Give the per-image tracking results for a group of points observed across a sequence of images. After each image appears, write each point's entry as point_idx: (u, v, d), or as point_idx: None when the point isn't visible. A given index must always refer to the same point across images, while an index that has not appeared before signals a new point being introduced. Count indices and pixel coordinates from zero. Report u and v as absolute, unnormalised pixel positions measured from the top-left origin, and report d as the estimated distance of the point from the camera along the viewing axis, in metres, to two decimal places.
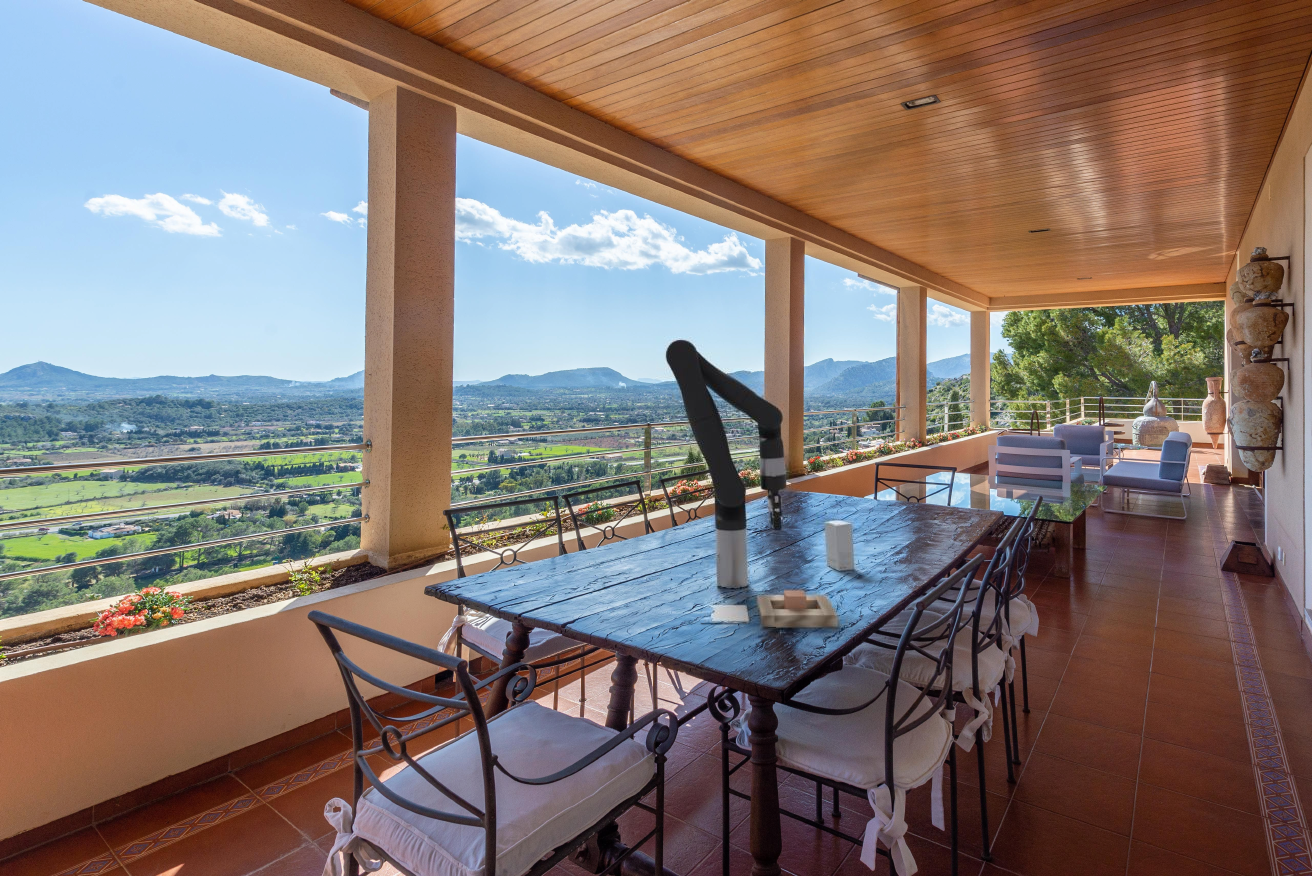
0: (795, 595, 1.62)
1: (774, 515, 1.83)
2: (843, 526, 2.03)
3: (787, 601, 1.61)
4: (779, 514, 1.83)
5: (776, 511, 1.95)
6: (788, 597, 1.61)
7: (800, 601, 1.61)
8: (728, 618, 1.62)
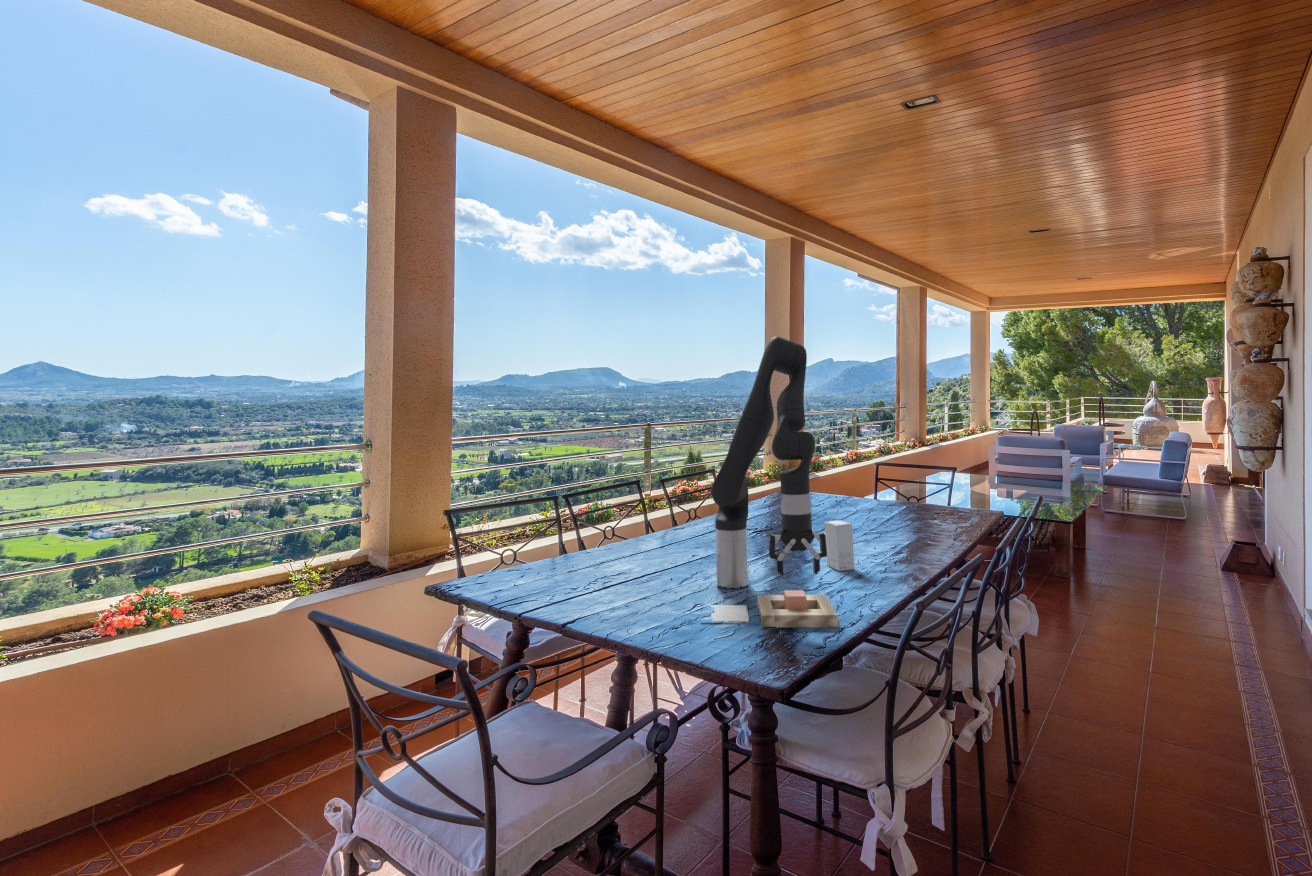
0: (795, 595, 1.62)
1: None
2: (843, 526, 2.03)
3: (787, 601, 1.61)
4: None
5: None
6: (788, 597, 1.61)
7: (800, 601, 1.61)
8: (728, 618, 1.62)
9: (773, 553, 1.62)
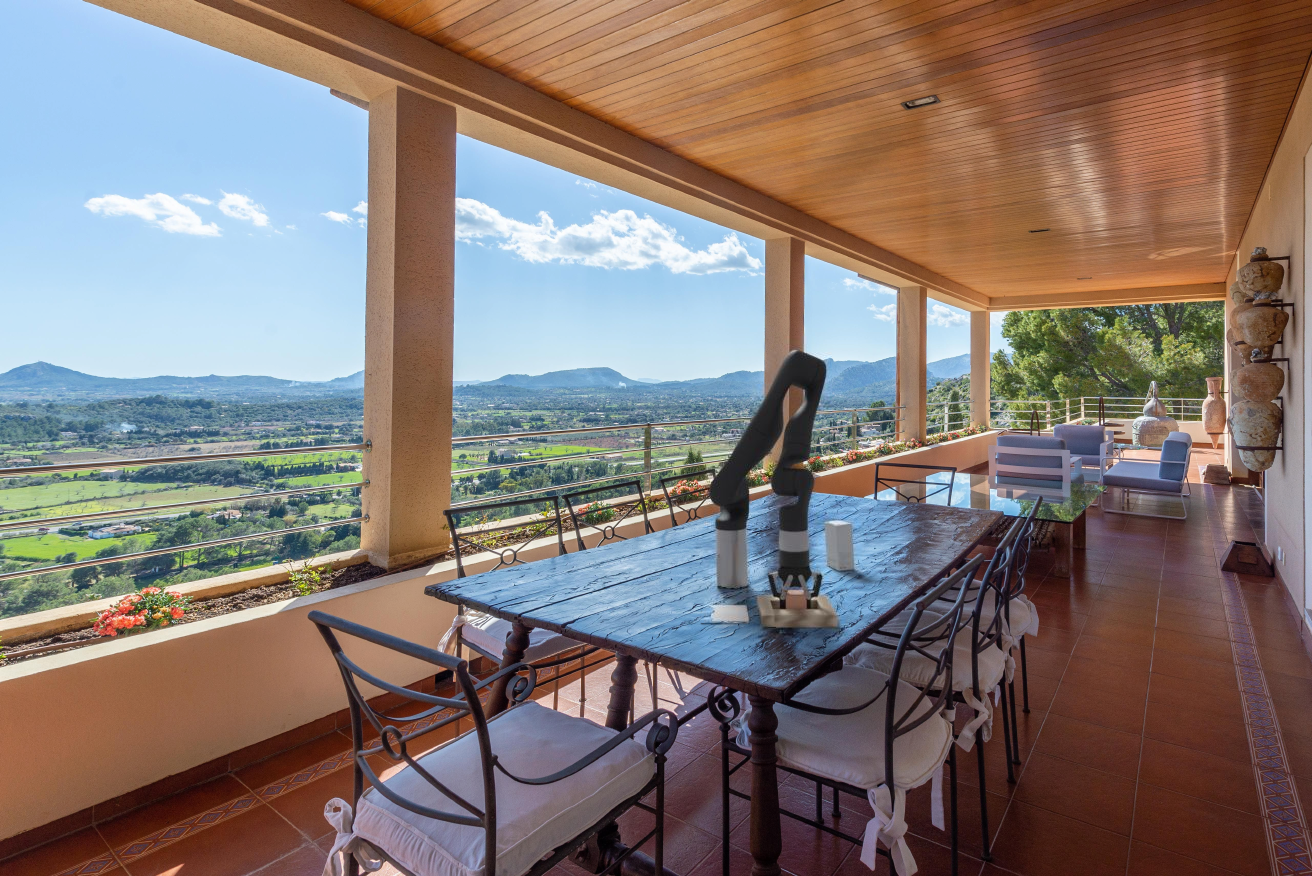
0: (795, 594, 1.62)
1: None
2: (843, 526, 2.03)
3: (787, 601, 1.61)
4: None
5: None
6: (788, 597, 1.61)
7: (800, 601, 1.61)
8: (728, 618, 1.62)
9: (776, 592, 1.62)
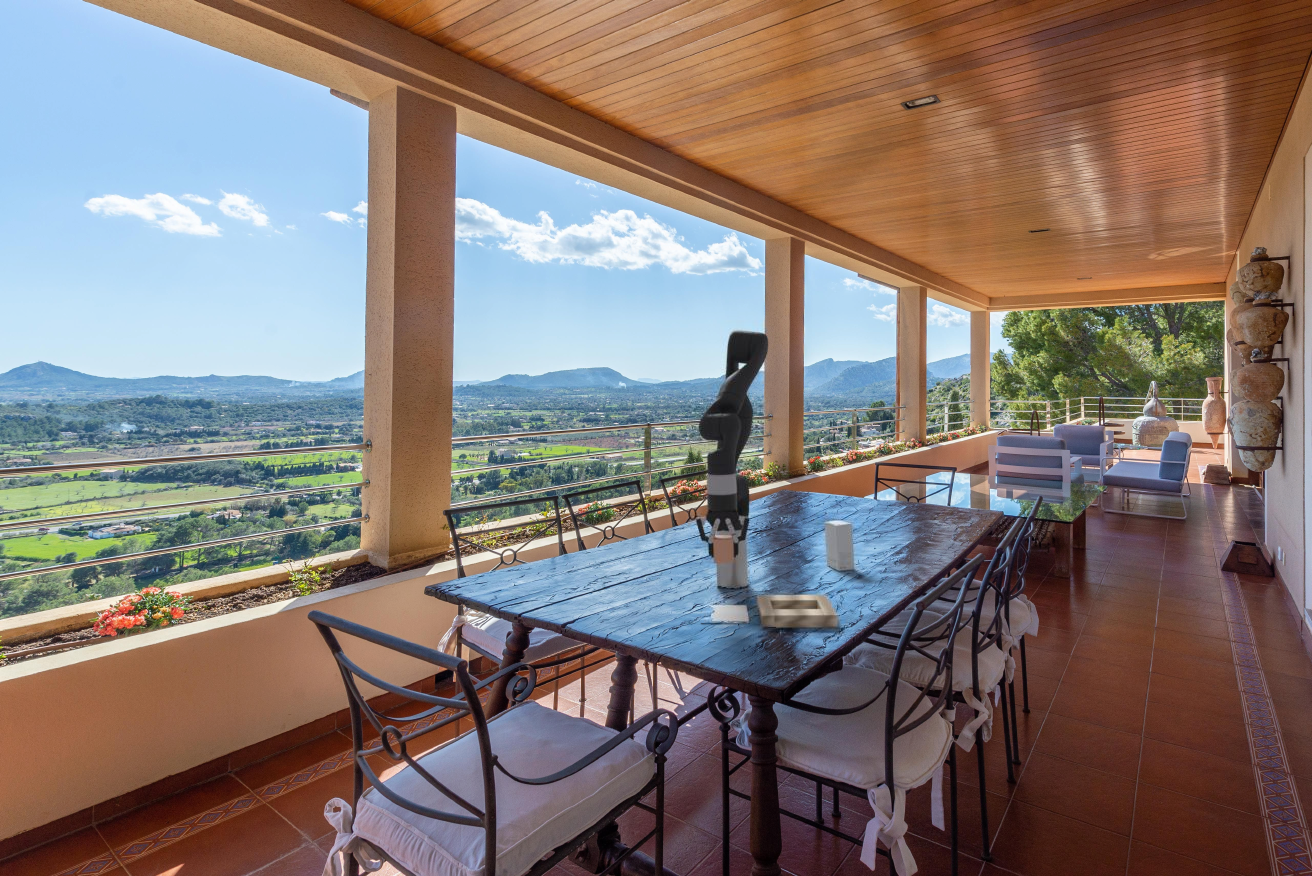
0: (723, 538, 1.63)
1: None
2: (843, 526, 2.03)
3: (714, 544, 1.62)
4: None
5: None
6: (715, 540, 1.62)
7: (727, 544, 1.62)
8: (728, 618, 1.62)
9: (704, 535, 1.64)
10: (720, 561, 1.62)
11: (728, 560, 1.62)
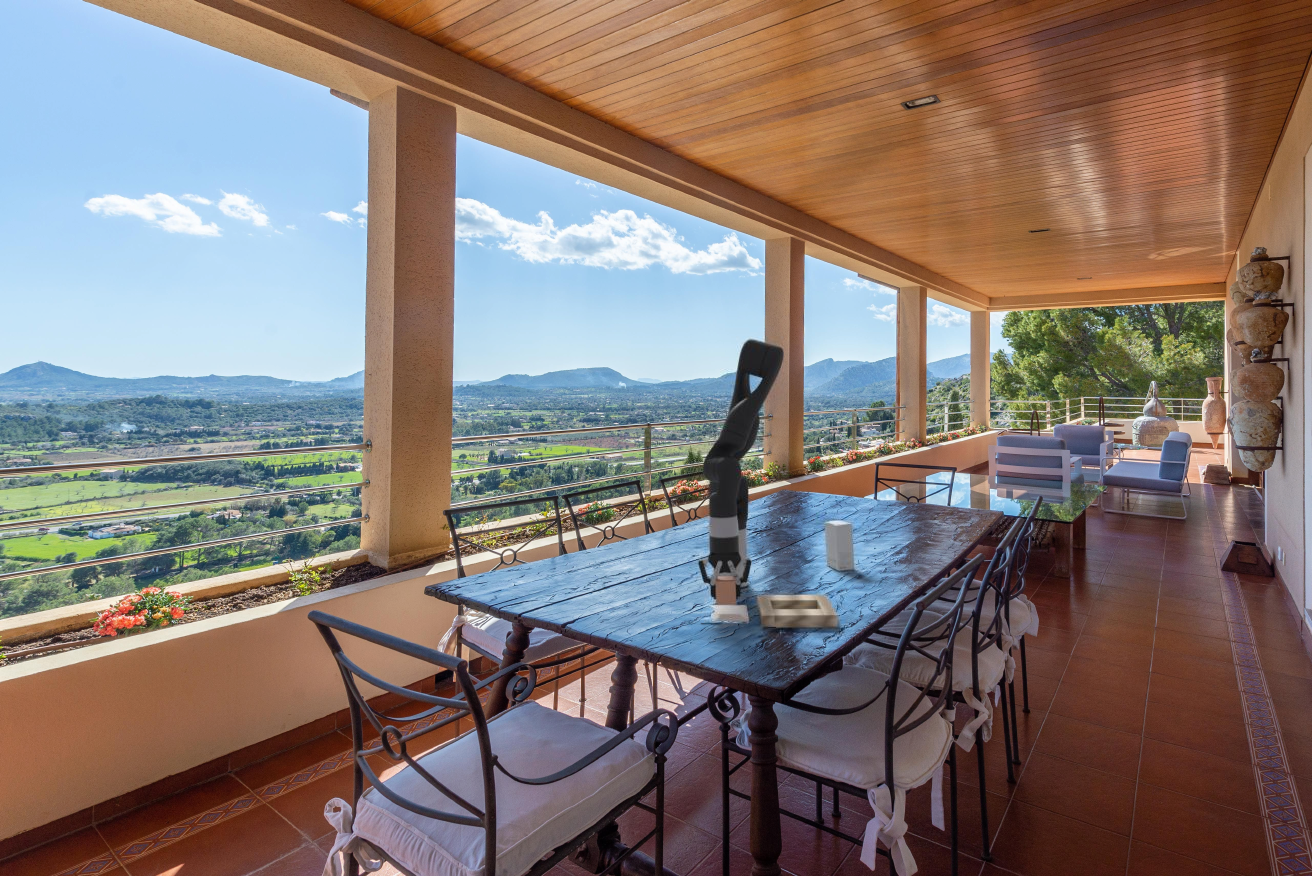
0: (725, 580, 1.64)
1: None
2: (843, 526, 2.03)
3: (716, 586, 1.63)
4: None
5: None
6: (717, 582, 1.63)
7: (729, 587, 1.63)
8: (728, 618, 1.62)
9: (706, 577, 1.64)
10: (722, 603, 1.63)
11: (730, 602, 1.63)
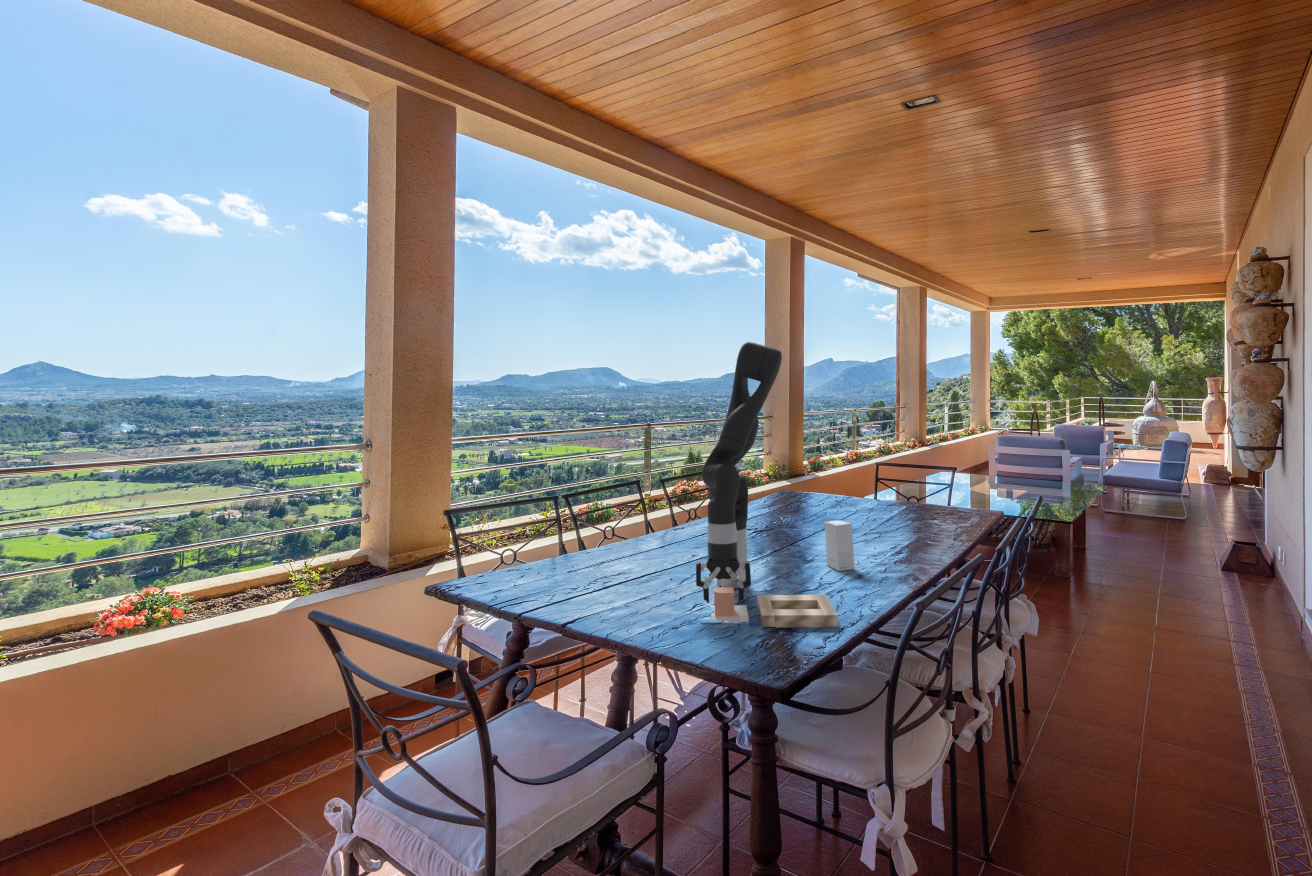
0: (724, 591, 1.64)
1: None
2: (843, 526, 2.03)
3: (715, 598, 1.63)
4: None
5: None
6: (716, 594, 1.63)
7: (728, 598, 1.63)
8: (728, 618, 1.62)
9: (699, 581, 1.65)
10: (721, 614, 1.63)
11: (729, 613, 1.63)
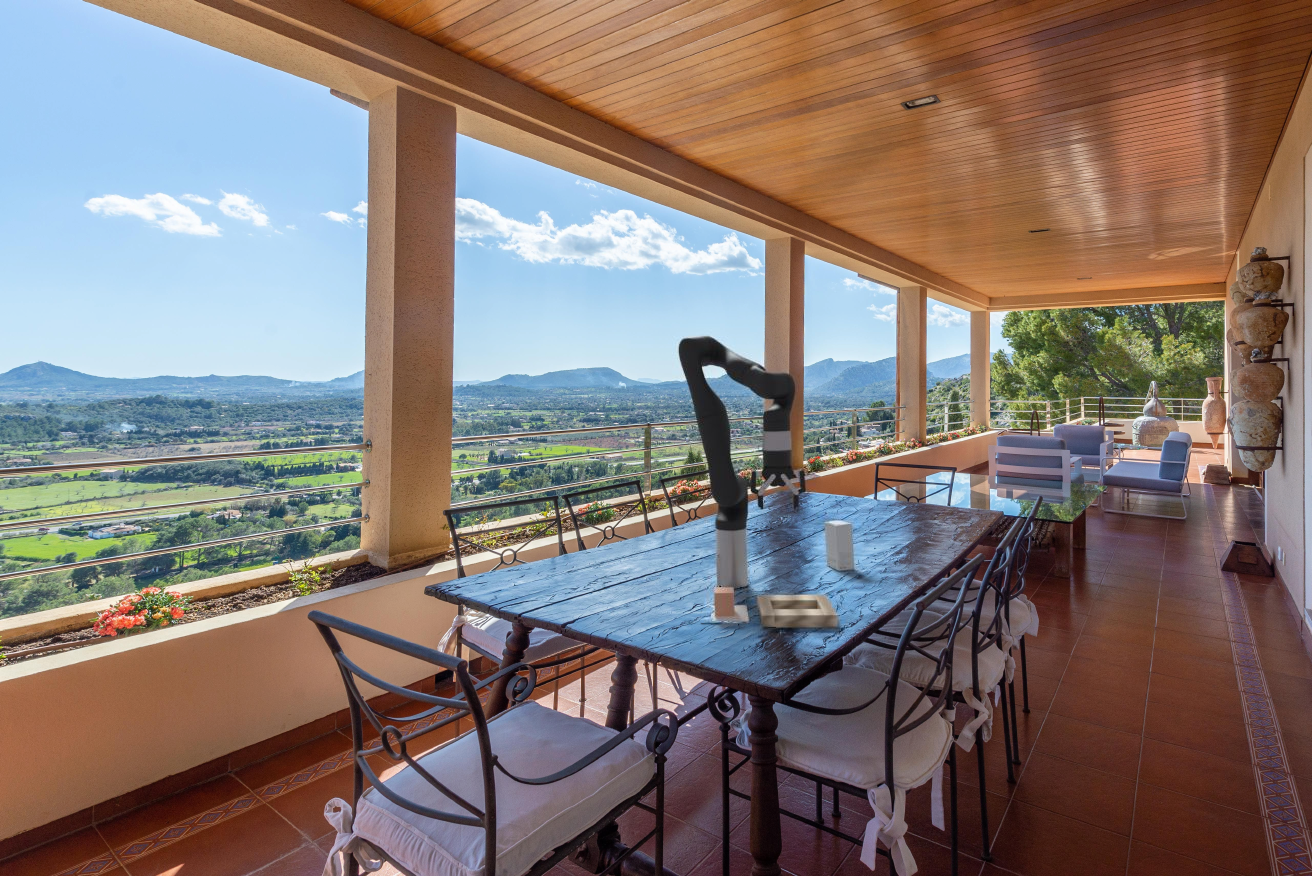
0: (724, 591, 1.64)
1: None
2: (843, 526, 2.03)
3: (715, 598, 1.63)
4: None
5: None
6: (716, 594, 1.63)
7: (728, 598, 1.63)
8: (728, 618, 1.62)
9: (754, 488, 1.70)
10: (721, 614, 1.63)
11: (729, 613, 1.63)
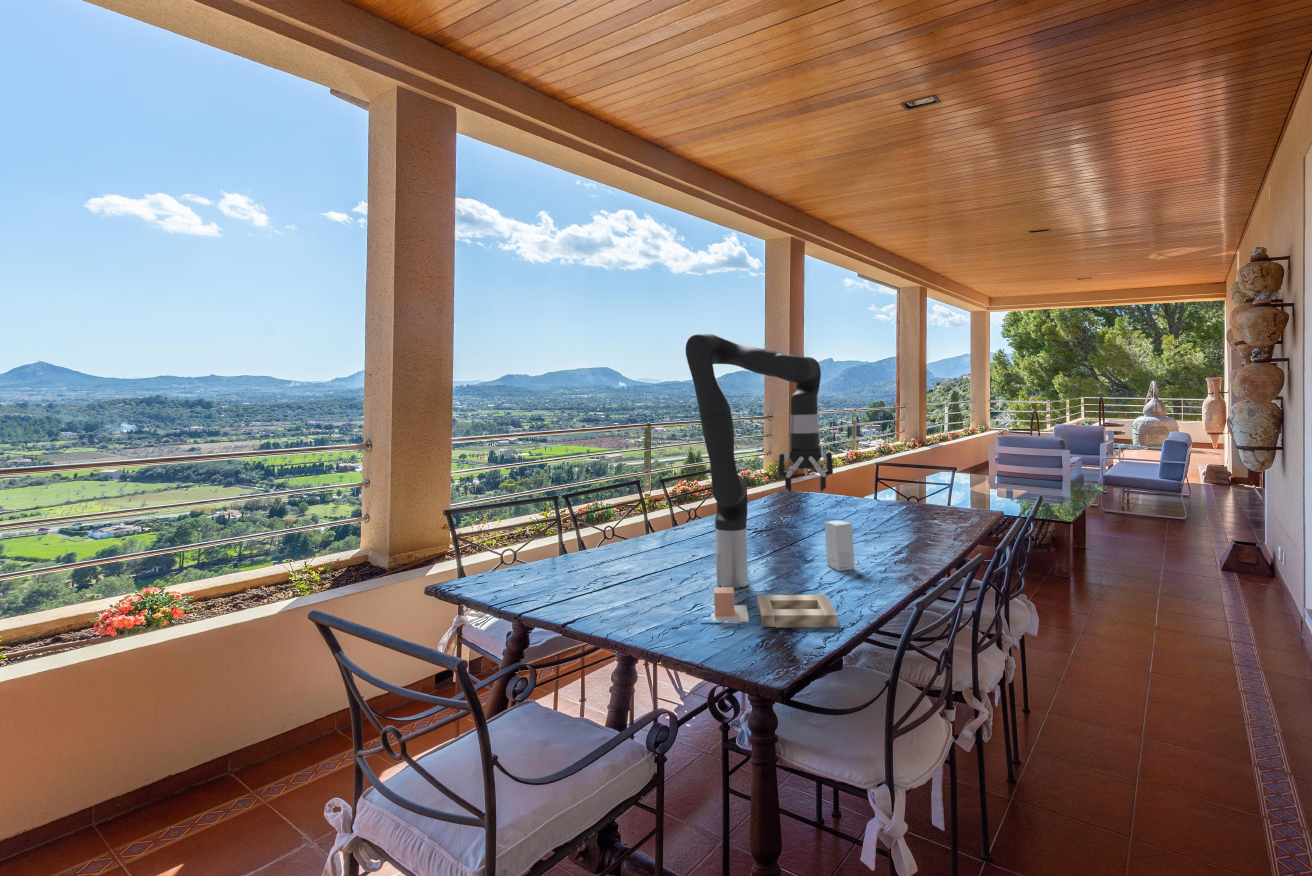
0: (724, 591, 1.64)
1: None
2: (843, 526, 2.03)
3: (715, 598, 1.63)
4: None
5: None
6: (716, 594, 1.63)
7: (728, 598, 1.63)
8: (728, 618, 1.62)
9: (782, 470, 1.73)
10: (721, 614, 1.63)
11: (729, 613, 1.63)
